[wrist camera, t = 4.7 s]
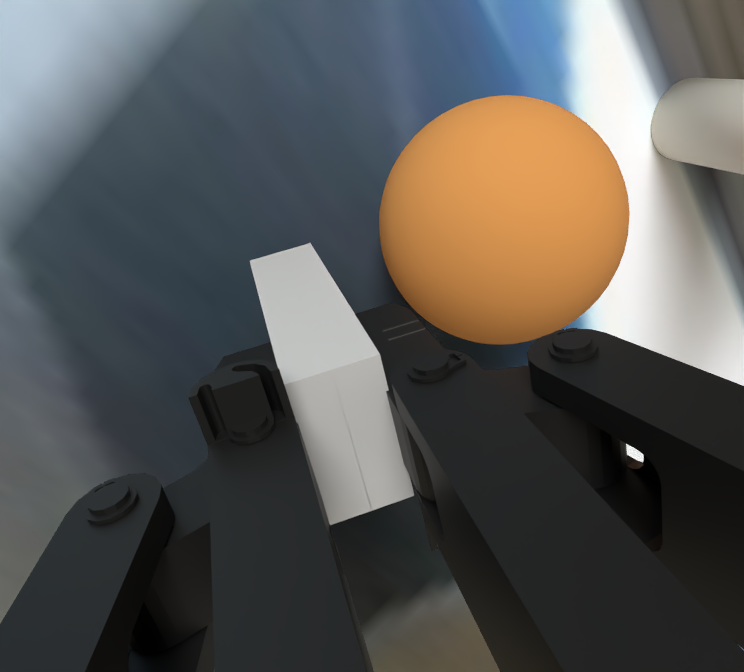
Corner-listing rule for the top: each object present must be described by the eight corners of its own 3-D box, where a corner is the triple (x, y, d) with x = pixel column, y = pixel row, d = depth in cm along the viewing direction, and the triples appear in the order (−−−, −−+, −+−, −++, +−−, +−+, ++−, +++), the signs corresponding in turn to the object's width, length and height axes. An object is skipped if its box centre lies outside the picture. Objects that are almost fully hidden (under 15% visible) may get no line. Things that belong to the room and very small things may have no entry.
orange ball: (634, 393, 14) (625, 278, 19) (635, 103, 11) (624, 59, 16) (372, 389, 16) (426, 287, 21) (319, 145, 13) (396, 95, 18)
